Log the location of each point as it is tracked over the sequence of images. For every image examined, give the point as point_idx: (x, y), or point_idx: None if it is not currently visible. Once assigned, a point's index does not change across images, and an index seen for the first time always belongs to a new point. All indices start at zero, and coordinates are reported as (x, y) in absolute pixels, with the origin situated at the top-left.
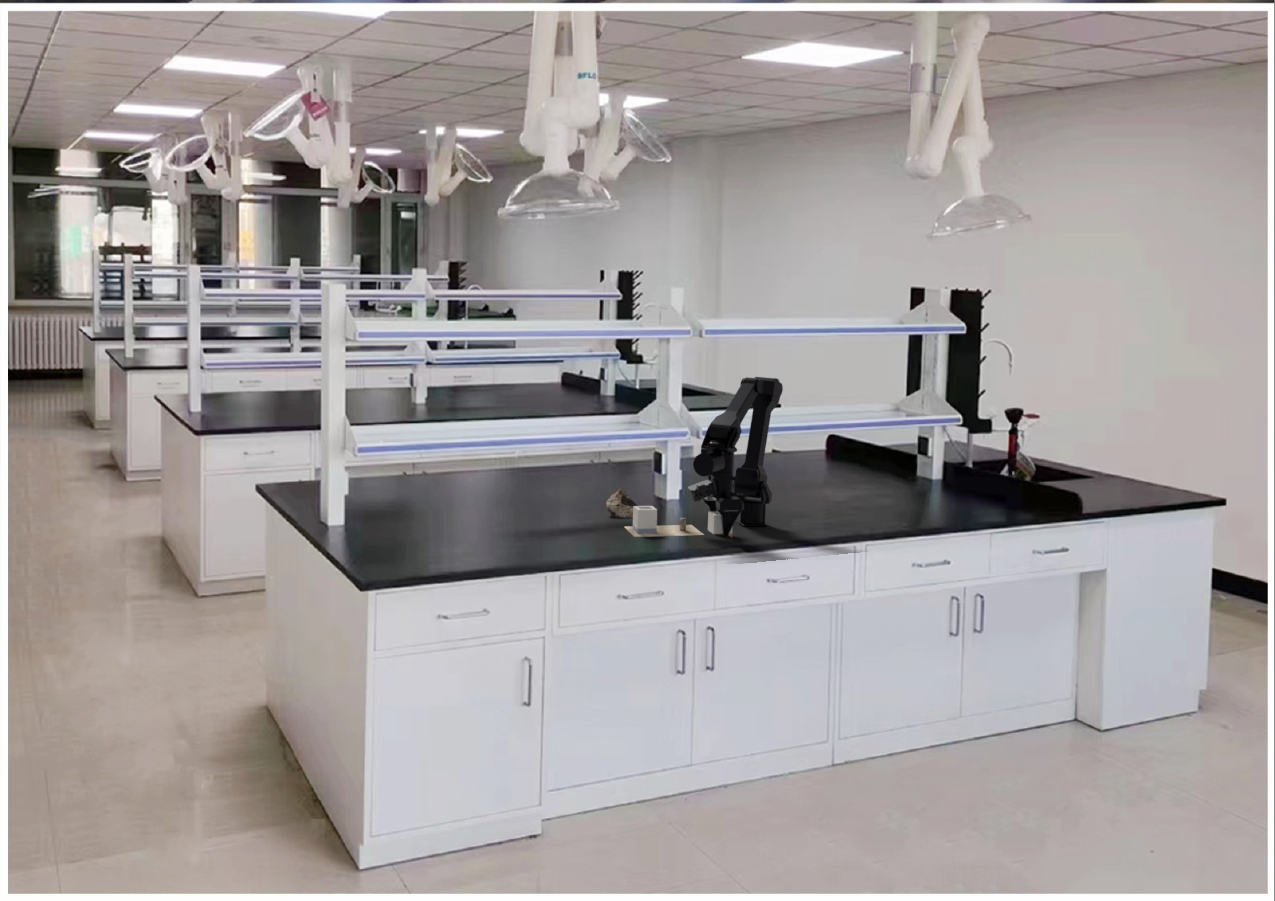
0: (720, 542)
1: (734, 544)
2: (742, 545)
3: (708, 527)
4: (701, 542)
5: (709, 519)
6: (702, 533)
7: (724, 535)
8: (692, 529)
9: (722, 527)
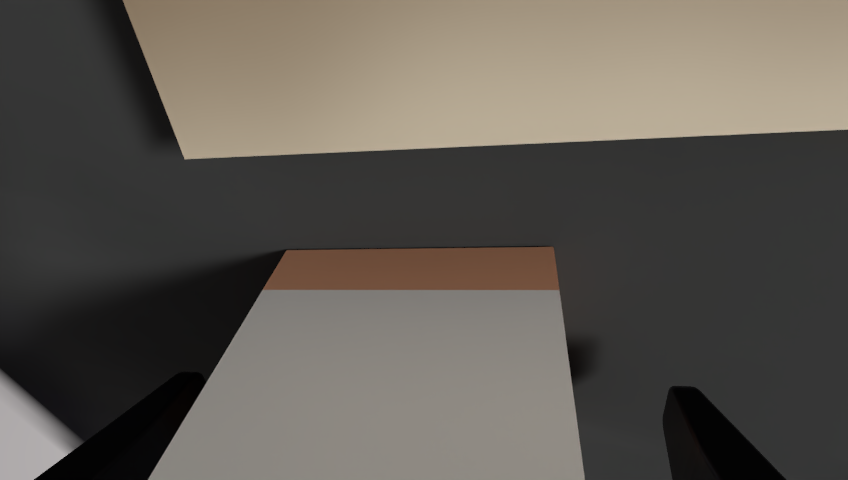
0: (116, 276)
1: (74, 366)
2: (61, 407)
3: (520, 322)
4: (24, 42)
5: (472, 454)
6: (287, 151)
7: (183, 377)
8: (653, 33)
9: (102, 450)
